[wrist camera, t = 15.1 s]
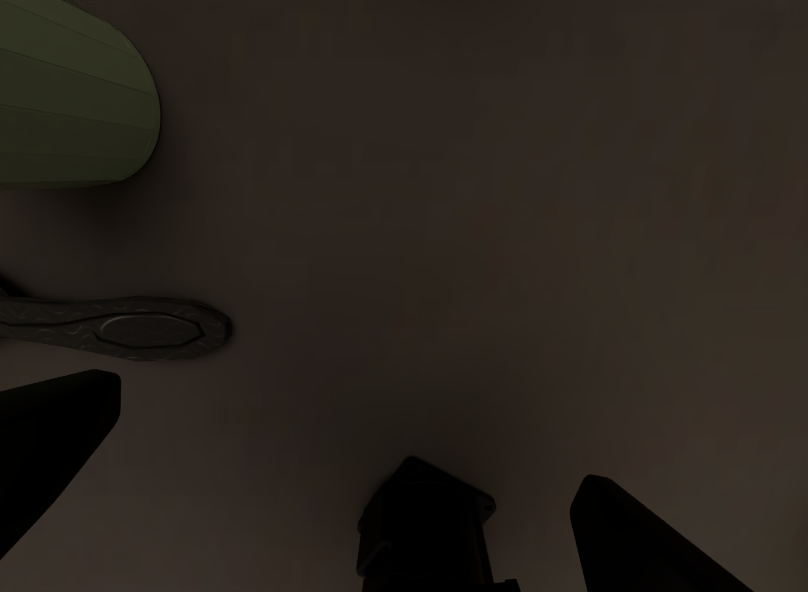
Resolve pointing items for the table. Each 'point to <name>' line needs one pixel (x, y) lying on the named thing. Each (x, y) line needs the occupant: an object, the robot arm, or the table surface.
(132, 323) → the hairbrush
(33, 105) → the pen cup
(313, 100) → the table surface
